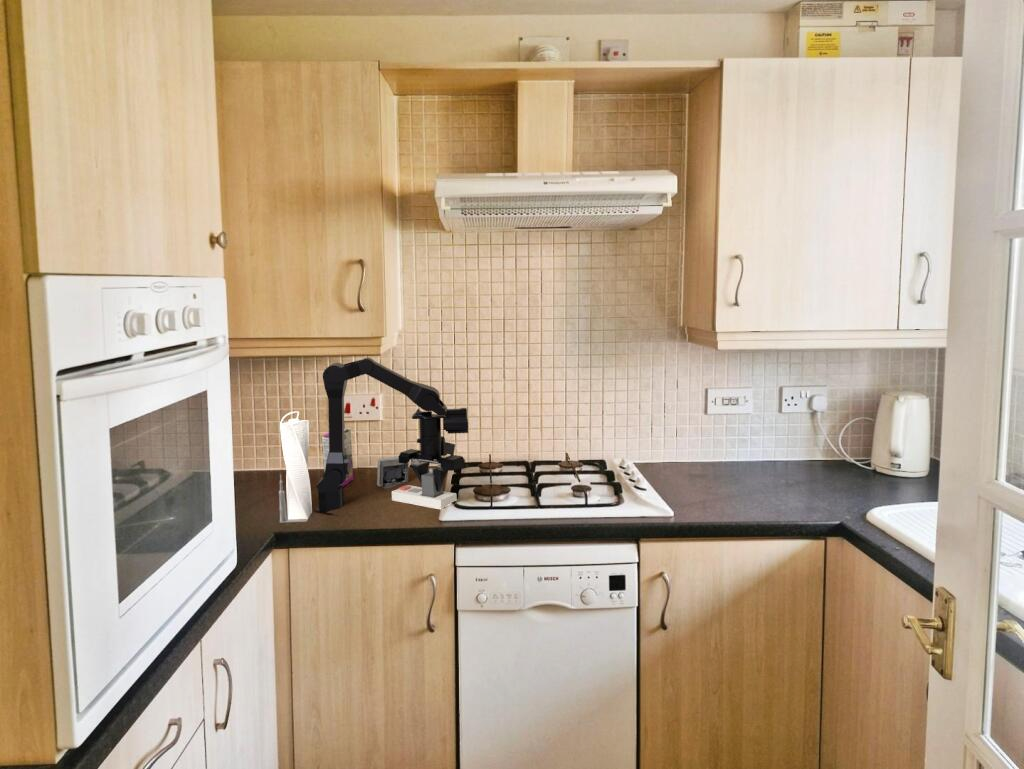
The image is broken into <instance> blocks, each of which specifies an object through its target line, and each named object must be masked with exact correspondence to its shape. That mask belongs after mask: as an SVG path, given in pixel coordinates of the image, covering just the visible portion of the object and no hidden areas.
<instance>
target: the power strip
mask: <svg viewBox="0 0 1024 769" xmlns="http://www.w3.org/2000/svg"><path fill="white" fill-rule="evenodd" d="M457 496H458V495H457V493H456V492H449V491H443V494H442V495H440V496H438V497H435V498H432V497H427V496H422V486H415V485H410V484H408V485H407V484H405V485H403V486H400V487H399V488H397V489H395V490H392V491H391V501H394V502H398V503H399V502H400V503H404V504H411V505H416V506H418V507H419V506H421V507H425V508H430V509H436V510H443V508H444V507H445V506H447V505H448V504H450V503H452V502H454V501H457V502H458V498H457ZM444 509H445V508H444Z"/></svg>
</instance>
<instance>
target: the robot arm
mask: <svg viewBox="0 0 1024 769" xmlns="http://www.w3.org/2000/svg"><path fill="white" fill-rule="evenodd" d="M364 375H366V376H369V377H371V378H372V379H374V380H377V381H379V382H381V384H384V385H385V386H388V387H390V388H391V389H394V390H395V391H398V392H399V393H400V394H403V395H404V396H405V397H407V398H408V399H410V401H412V402H413V404H415V405H417V407H419V408H417V409H416V411H415V412H414V413H413V414H412V416H411V419H413V420H418V422H419V424H418V425H419V427H418V428H419V438H416V444H419V447H420V448H419V449H416V448H415V449H414V448H409V449H407V450H403V451H401V452H400V453H399V454H398V456H399V463H404V464H407V463H410V464H409V468H410V469H412V471H413V472H414V474H415V475H416V477H417V479H418V480H419V483H420V484H421V485H422V478H421V475H423V474H426V473H428V472H429V468H430V464H437V465H436V466H437V467H436V468H435V467H434V469H433V474H434V480H435V486H436V490H437V492H439V491H441V488H442V485H444V481H445V478H446V475H447V473H448V472H452V471H453V472H454V471H457V470H459V469H461V468H464V467H466V459H465V458H464V457H463V456H462V455H456V454H455V450H456V443H455V444H454V443H453V442H449V441H448V442H447V441H446V439H445V436H442V429H443V431H445V432H447V434H450V435H451V434H469V417H468V408H467V407H460V408H448V407H447V406H446V404H445V403H444V401H442V400H441V395H440V391H439V390H438V389H437V388H436V387H434V386H431V385H427V384H425V383H421V382H417V381H413V380H410V379H409V378H407V377H405V376H403V375H402V374H399V373H397V372H395V371H393V370H392V369H390V368H389V367H387V366H384V365H383V364H381V363H379V362H377V361H375V360H374V359H373V358H371V357H364V358H363V359H359V360H354V361H350V362H346V363H342V362H334V363H332V364H330V365H329V366H327V367H326V368H325V369H324V370H323V373H322V380H323V385H324V390H325V393H326V397H327V399H328V400H327V402H328V405H327V406H328V433H329V454H328V458H327V462H326V468H325V474H324V473H323V475H322V477H321V478H320V479H319V481H318V483H317V484H316V489H317V495H318V499H317V500H318V508H315V509H314V512H316V513H321V514H325V515H329V516H331V515H334V513H332V512H331V513H330V511H335V510H340V509H341V508H342V507H343V506H345V504H346V503H345V490H344V487H343V486H341V485H340V484H342V483H343V482H344V481H345V480H346V478H347V476H348V475H349V473H350V471H351V469H352V466H351V457H352V458H353V453H352V454H348V455H347V454H346V451H345V446H344V428H345V393H346V390H347V385H348V380H349V381H350V380H351V379H354V378H358V377H361V376H364ZM420 409H421V410H420ZM422 410H423V411H422ZM441 419H442V420H441ZM441 422H442V423H441ZM442 426H443V428H442Z"/></svg>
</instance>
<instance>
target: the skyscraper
mask: <svg viewBox="0 0 1024 769" xmlns="http://www.w3.org/2000/svg"><path fill="white" fill-rule="evenodd" d="M292 414H293V415H294V414H297V415H296V417H295V418H290V419H288V420H287V421H285V422H283V421H284V419H285V418H286V417H288V416H289V415H292ZM299 416H300V411H298V410H296V411H290V412H288V413H286V414H285V415H284V416H282V418H281V420H280V423H279V426H280V427H279V428H280V440H281V447H282V448H281V449H282V453H283V460H284V463H285V469H286V471H285V472H286V475H285V478H286V480H285V481H286V485H285V488H286V489H285V490H284V485H283V483H284V482H283V479H282V474H279V477H280V478H279V491H278V496H279V508H278V510H279V523H303V522H304V523H305V522H306V523H307V522H308V520H309V519H310V517H311V516H312V514H313V506H312V504H313V503H312V490H311V481H310V480H311V479H310V475H309V474H310V473H309V470H308V459H309V451H310V450H309V449H310V448H309V447H310V421H309V420H308V419H303V420H300V418H299ZM285 494H286V496H285ZM285 497H286V498H285Z"/></svg>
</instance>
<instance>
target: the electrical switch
mask: <svg viewBox="0 0 1024 769" xmlns="http://www.w3.org/2000/svg"><path fill="white" fill-rule="evenodd" d="M409 465H410V462H408V463H407V464H404V463H399V455H397V456H389V457H380V458H378V459H377V470H376V471H377V474H376V475H377V476H376V485H377V486H378V487H381V488H382V489H384V490H386V489H391V488H393V487H395V486H398V485H401V484H404V483H409V469H410V467H409Z"/></svg>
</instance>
